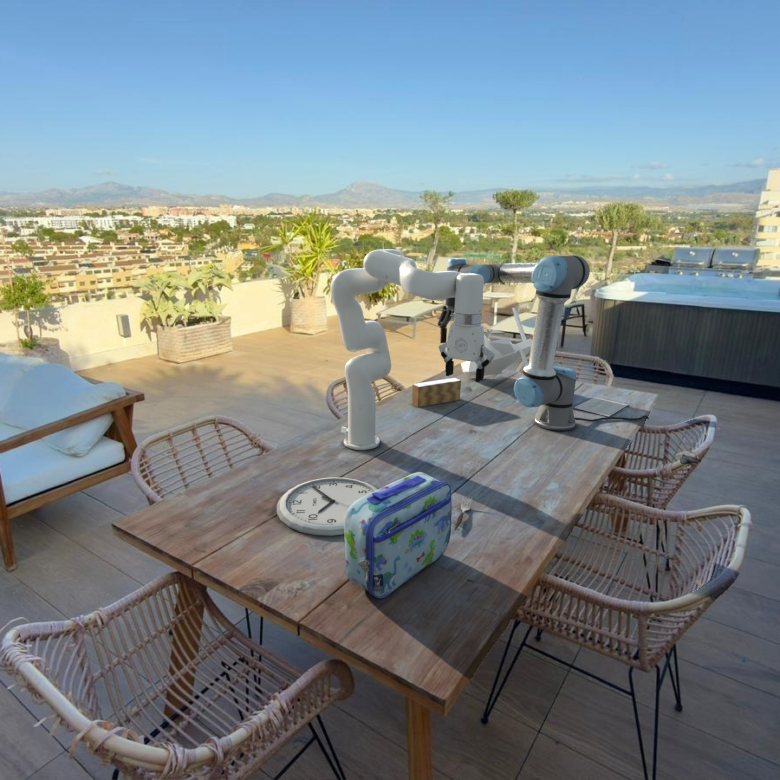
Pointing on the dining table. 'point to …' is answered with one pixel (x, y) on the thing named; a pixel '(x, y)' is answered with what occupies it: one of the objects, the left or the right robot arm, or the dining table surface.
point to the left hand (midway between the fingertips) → (463, 378)
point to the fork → (464, 508)
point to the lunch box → (397, 532)
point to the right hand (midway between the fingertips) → (452, 346)
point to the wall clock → (321, 504)
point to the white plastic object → (501, 353)
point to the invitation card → (601, 406)
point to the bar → (436, 392)
